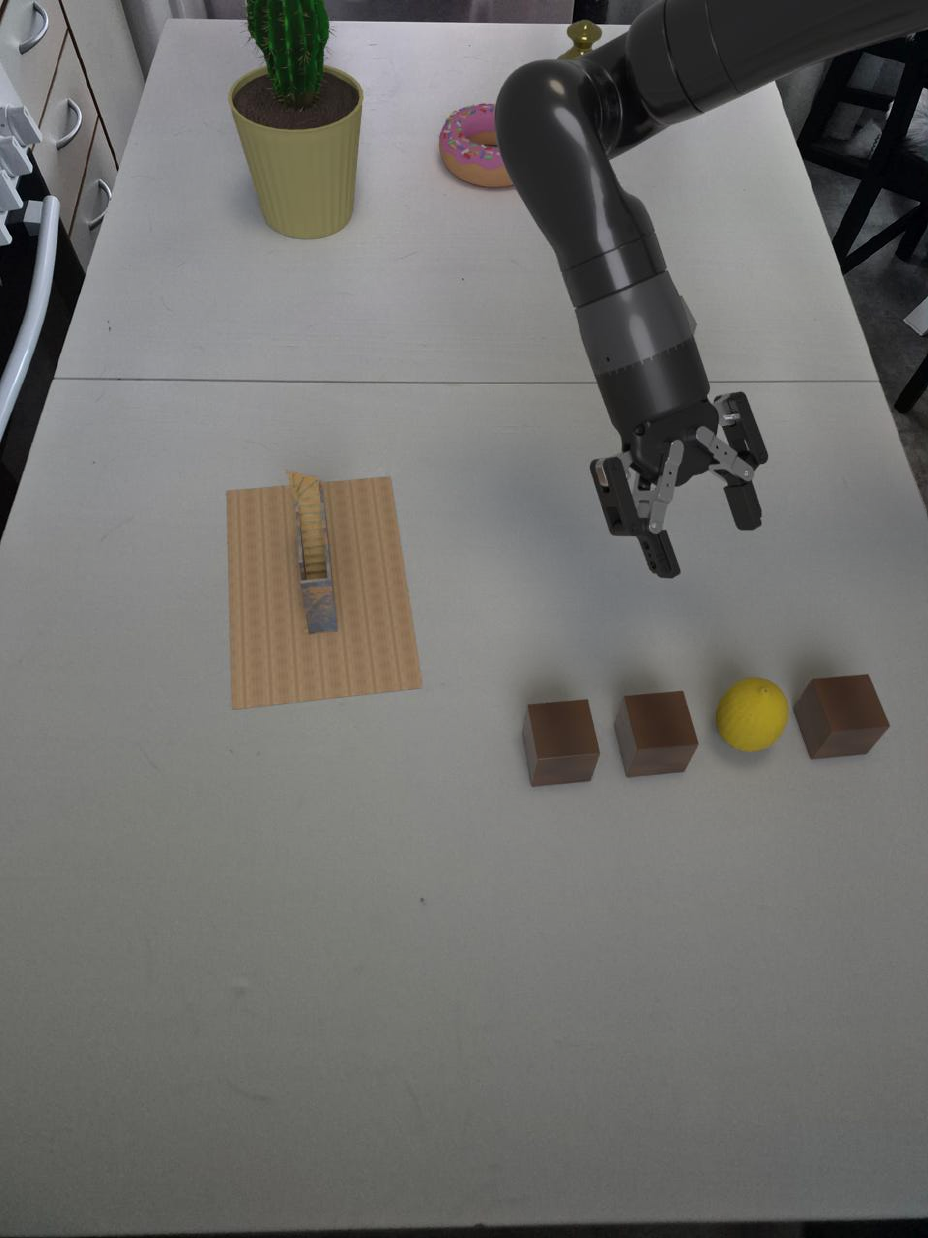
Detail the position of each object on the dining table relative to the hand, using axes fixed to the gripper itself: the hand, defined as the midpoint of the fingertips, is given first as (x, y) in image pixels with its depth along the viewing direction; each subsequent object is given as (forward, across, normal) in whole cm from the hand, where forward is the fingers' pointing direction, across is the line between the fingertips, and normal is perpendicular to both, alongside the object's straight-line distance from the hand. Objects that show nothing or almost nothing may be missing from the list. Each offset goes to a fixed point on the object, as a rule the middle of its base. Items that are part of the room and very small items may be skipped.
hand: (710, 551), depth 74 cm
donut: (-41, +34, +62) cm, 82 cm away
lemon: (+18, -1, +4) cm, 18 cm away
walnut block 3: (+20, +6, +1) cm, 21 cm away
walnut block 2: (+15, -8, +6) cm, 18 cm away
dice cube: (-12, +27, +33) cm, 45 cm away
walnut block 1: (+12, -15, +9) cm, 21 cm away
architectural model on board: (-6, -22, +28) cm, 36 cm away
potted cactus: (-43, +7, +64) cm, 78 cm away
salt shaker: (-46, +55, +68) cm, 99 cm away
